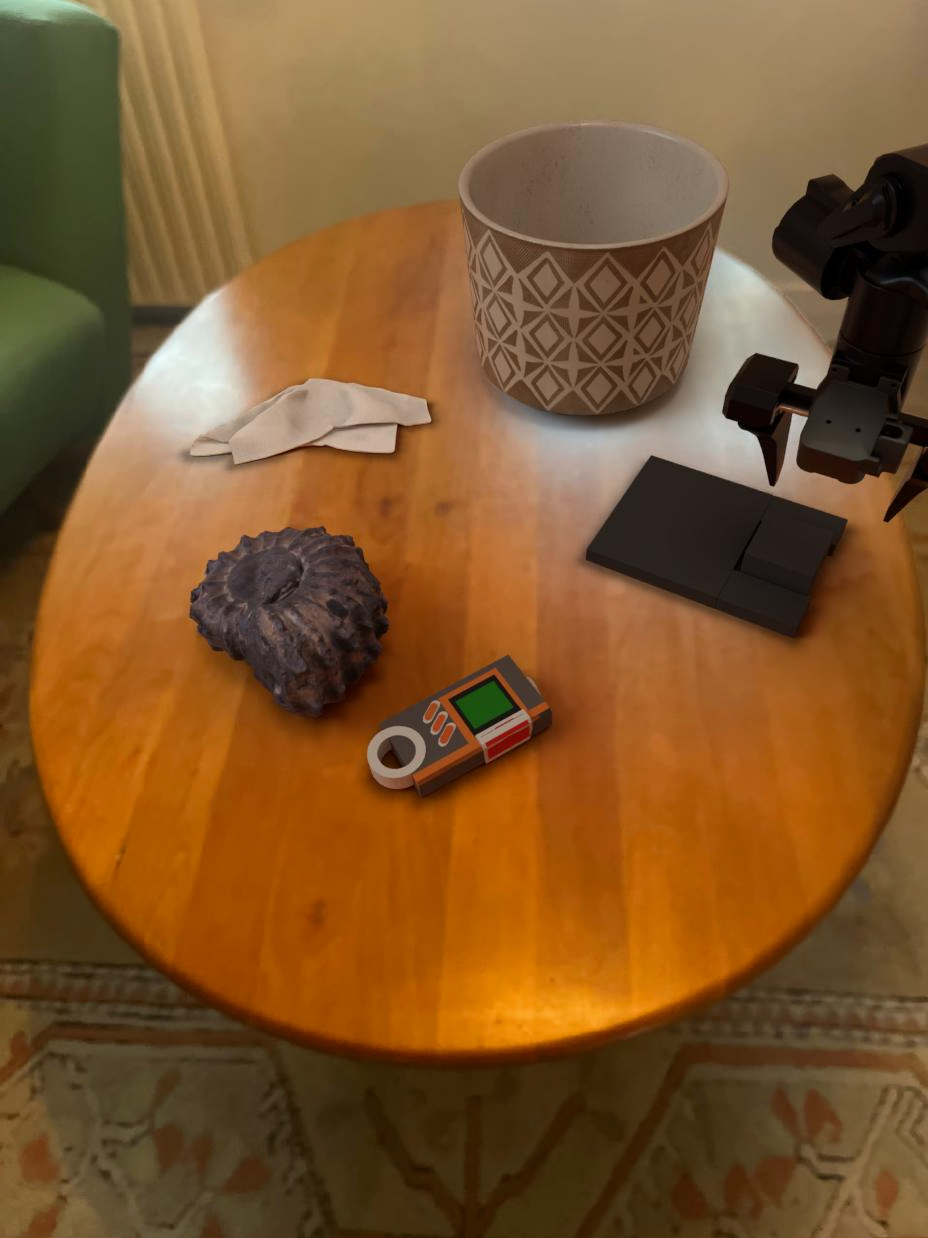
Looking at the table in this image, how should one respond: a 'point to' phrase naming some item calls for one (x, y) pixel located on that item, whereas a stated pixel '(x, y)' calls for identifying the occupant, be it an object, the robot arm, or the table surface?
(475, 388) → the table surface
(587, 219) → the planter
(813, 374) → the table surface
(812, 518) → the flat black pad
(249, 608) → the seashell
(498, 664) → the electronic device
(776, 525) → the dark grey square block
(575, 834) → the table surface
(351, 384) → the cloth
